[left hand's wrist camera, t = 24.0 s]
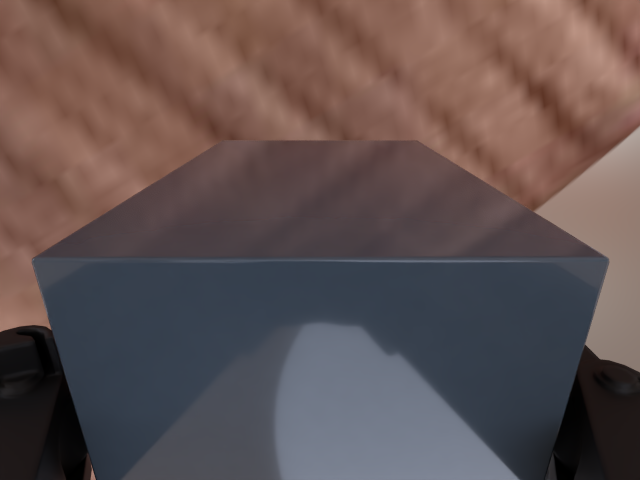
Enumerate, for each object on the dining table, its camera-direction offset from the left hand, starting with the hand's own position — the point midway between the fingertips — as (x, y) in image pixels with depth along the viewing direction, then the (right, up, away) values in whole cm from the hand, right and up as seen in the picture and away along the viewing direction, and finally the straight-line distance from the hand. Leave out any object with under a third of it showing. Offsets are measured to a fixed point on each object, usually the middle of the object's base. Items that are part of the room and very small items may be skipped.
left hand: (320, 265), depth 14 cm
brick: (0, +1, +3) cm, 3 cm away
